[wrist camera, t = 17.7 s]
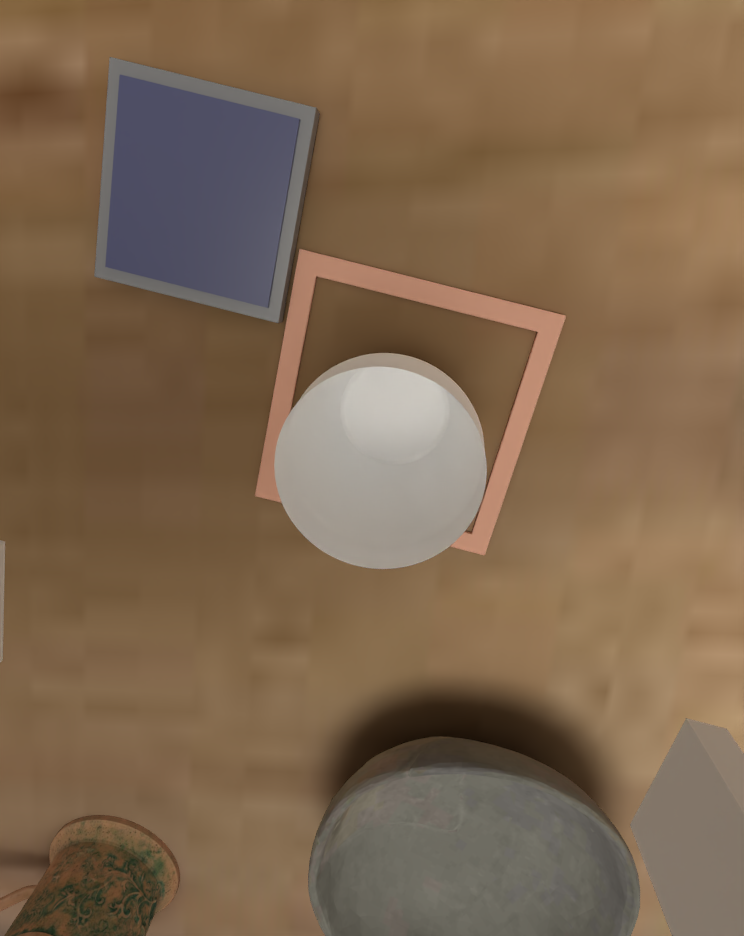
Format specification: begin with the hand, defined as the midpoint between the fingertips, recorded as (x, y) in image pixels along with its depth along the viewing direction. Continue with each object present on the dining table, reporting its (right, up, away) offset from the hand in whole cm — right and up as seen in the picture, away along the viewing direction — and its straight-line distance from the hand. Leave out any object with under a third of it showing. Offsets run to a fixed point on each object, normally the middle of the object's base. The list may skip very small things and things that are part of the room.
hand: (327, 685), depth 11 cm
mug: (-25, -30, +39) cm, 55 cm away
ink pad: (-9, +19, +21) cm, 29 cm away
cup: (+2, +8, +24) cm, 25 cm away
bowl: (+8, -21, +32) cm, 39 cm away
